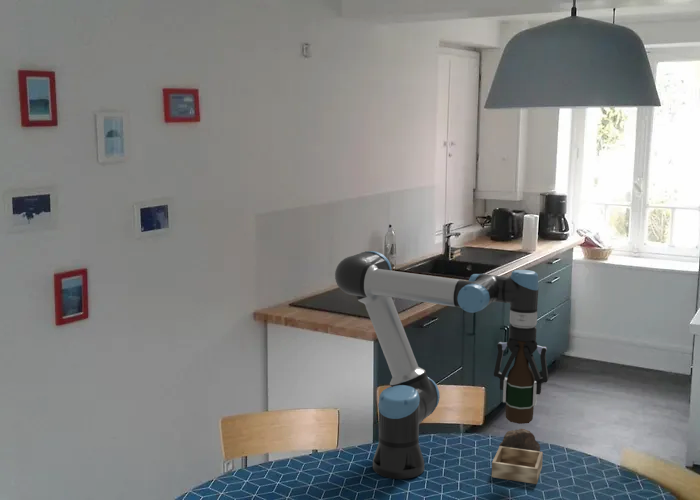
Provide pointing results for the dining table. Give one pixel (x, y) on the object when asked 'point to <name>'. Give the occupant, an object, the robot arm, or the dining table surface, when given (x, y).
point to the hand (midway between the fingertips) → (519, 402)
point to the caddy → (517, 464)
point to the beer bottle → (520, 390)
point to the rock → (520, 440)
